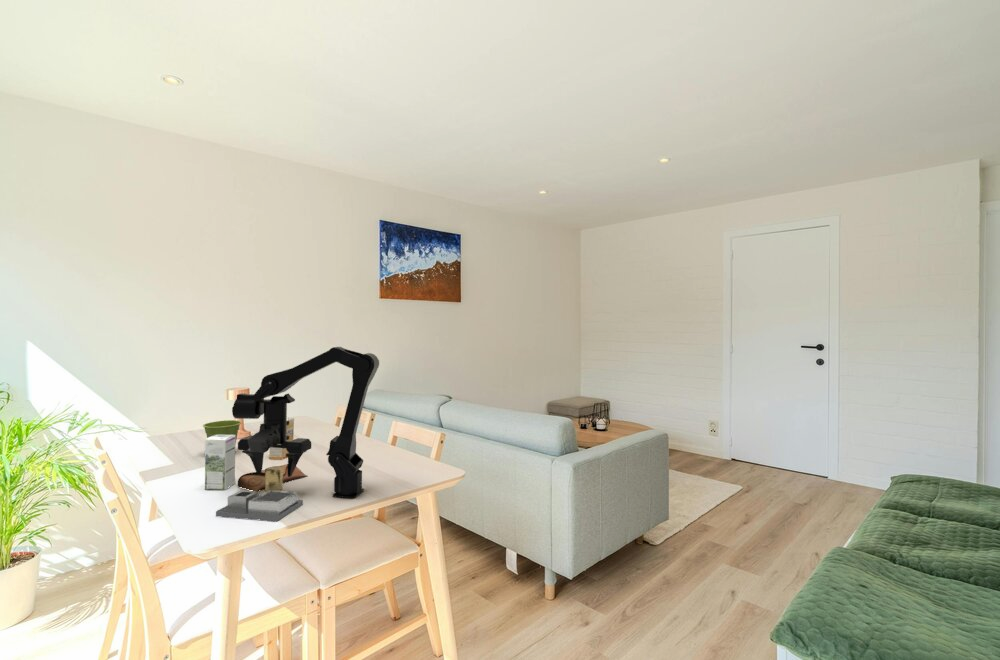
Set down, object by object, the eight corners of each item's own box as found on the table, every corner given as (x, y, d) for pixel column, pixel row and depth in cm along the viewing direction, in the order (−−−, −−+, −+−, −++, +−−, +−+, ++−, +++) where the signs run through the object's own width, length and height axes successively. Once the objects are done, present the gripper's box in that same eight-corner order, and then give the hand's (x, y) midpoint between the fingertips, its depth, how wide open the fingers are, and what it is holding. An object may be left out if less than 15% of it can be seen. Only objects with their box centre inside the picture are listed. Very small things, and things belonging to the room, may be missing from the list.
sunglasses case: (254, 492, 129) (247, 469, 131) (241, 501, 132) (235, 478, 134) (310, 475, 145) (303, 455, 146) (297, 483, 148) (290, 463, 150)
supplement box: (282, 459, 161) (283, 421, 161) (268, 459, 161) (269, 421, 161) (294, 453, 170) (294, 417, 169) (281, 453, 170) (281, 417, 170)
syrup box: (235, 483, 137) (236, 433, 136) (224, 490, 131) (225, 438, 131) (215, 483, 136) (216, 433, 136) (203, 490, 130) (204, 438, 130)
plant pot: (225, 449, 173) (226, 418, 173) (248, 453, 169) (249, 421, 169) (194, 457, 162) (194, 424, 162) (217, 461, 158) (218, 428, 158)
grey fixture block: (302, 504, 122) (303, 490, 122) (276, 521, 111) (276, 506, 111) (246, 499, 124) (247, 486, 124) (215, 516, 113) (216, 501, 113)
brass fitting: (285, 491, 131) (286, 466, 131) (276, 497, 126) (276, 471, 126) (271, 490, 131) (271, 465, 131) (261, 496, 127) (261, 470, 127)
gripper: (223, 423, 122) (222, 482, 122) (289, 426, 119) (288, 487, 120) (251, 415, 133) (251, 470, 133) (312, 418, 131) (311, 474, 131)
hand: (274, 475), depth 129 cm, fingers open, 9 cm apart
